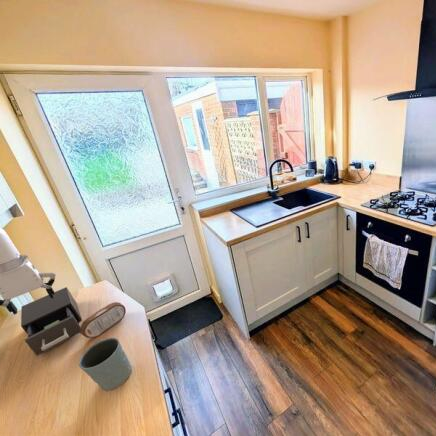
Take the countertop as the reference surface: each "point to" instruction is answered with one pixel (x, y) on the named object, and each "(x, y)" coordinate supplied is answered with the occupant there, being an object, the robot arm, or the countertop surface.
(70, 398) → the countertop surface
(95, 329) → the tin
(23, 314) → the small drawer box
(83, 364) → the grey green cup
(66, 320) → the dark grey sliding drawer
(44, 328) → the cube
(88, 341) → the countertop surface
